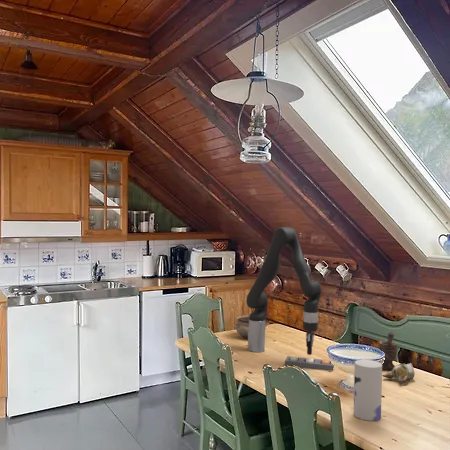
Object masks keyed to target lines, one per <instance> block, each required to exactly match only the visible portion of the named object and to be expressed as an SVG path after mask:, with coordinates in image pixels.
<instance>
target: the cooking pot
mask: <svg viewBox="0 0 450 450" xmlns="http://www.w3.org/2000/svg"><path fill="white" fill-rule="evenodd" d="M236 319H237V320H236V323H235V324H231V326H232V327H233V328H235V330H236V331H235V332H237V333H238V335H240V336H242V337H243V338H245V339H247V340H248V332H249V315H240V316H237V317H236ZM269 325H270V322H265V329H266V327H267V326H269Z"/></svg>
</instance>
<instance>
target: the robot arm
mask: <svg viewBox="0 0 450 450" xmlns="http://www.w3.org/2000/svg"><path fill="white" fill-rule="evenodd" d="M273 233H274V234H273V236H272V239H271V242H270V245H269V249H268V251H267V253H266V256H265V259H264V260H263V263H262V265H261V267H260V270H259V272H258V275H257V276H256V278H255V281H254V283H253V284H252V287H251V288H250V290H249V292H248V294H247V296H246V305H247V307H248V308H249V309H253V311H252V312H251V313H250V314H249V315H248V316H249V332H248V339H247V350H248V351H249V352H253V353H262V352H264V351H265V347H266V346H265V345H266V328H265V325H266V324H265V323H266V317H267V315H268V302H269V300H268V295H267V294H266V292H265V289H266V288H267V287H268V286H269V285H270V284H271V283H272V281H273V280H275V278H276V276H277V275H278V272H279V269H280V267H281V259H280V255H281V252H282V249H283V247H284V245H288V247H289V249H290V251H291V255H292V256H291V257H292V265H293V268H294V270H295V273H296V275H297V276H298V280H299V281H298V282H299V285H300V286H299V287H300V290H301V292H302V293H303V294H304V295H305V296H308V298H307V299H305V301H304V304H303V315H302V316H303V317H302V330H304V331H306V333H305V341H306V342H305V343H306V347H307V348H306V349H307V350H306V351H307V352H306V353H307V355H308V356H311V355H313V353H312V352H313V346H314V345H313V344H314V340H315V339H314V337H315V333H314V332H317V331H318V330H319V328H318V327H319V301H320V298H321V294H322V285H321V284H320V282H319V281H318V280H317V281H316V280H312V281H311V279H310V278H311V276H312V271H311V269H310V267H309V265H308V263H307V261H306V258H305V256H304V254H303V251H302V247H301V245H300V242H299V237H298V235H297V232H296V230H295V229H294V228H292V227H289V226H281V227H278V228H276V230H275V231H274V232H273Z"/></svg>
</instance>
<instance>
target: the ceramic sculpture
mask: <svg viewBox="0 0 450 450" xmlns="http://www.w3.org/2000/svg"><path fill="white" fill-rule="evenodd" d="M383 377H384V378H386V379H394V380H395V381H397V382H398V383H401V384H404V383H406V382H407V381H408V380H413V379H414V378H415V369H414V367H413V363H411V362H410V363H407V364H406V363H404V362H400V363H399V364H398V365H395V367H394V368H393V370H388V372H386V373H385V374H382V378H383Z"/></svg>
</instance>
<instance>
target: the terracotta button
mask: <svg viewBox="0 0 450 450" xmlns="http://www.w3.org/2000/svg"><path fill="white" fill-rule="evenodd" d="M321 360H322V364H330V361H329V359H321Z"/></svg>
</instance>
